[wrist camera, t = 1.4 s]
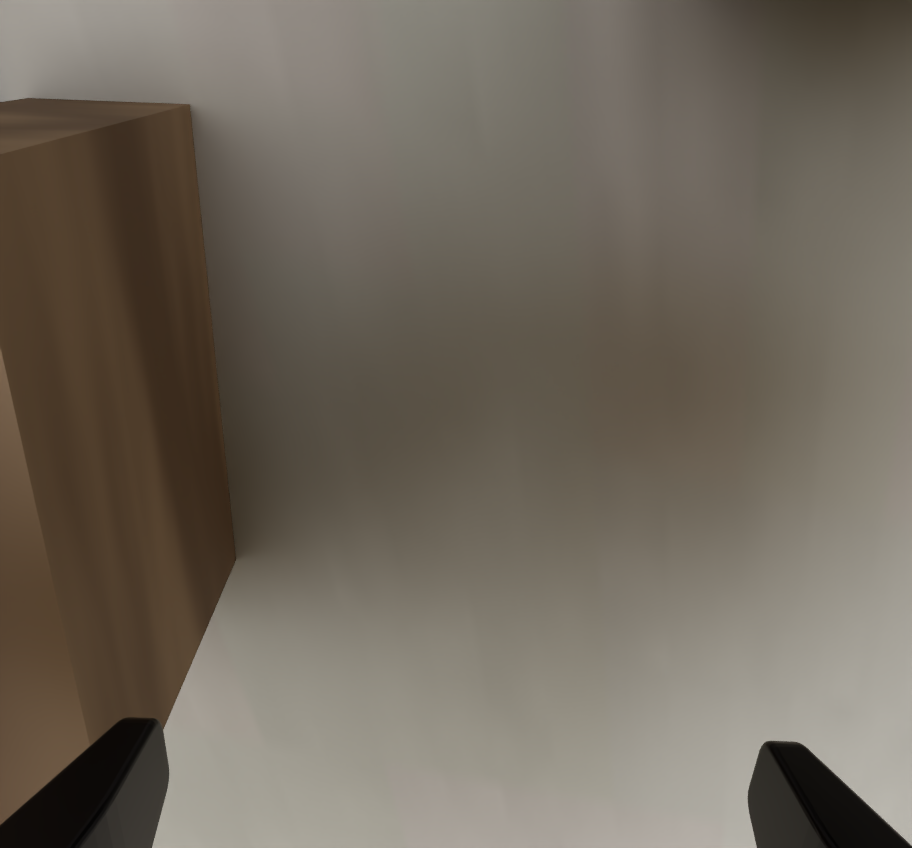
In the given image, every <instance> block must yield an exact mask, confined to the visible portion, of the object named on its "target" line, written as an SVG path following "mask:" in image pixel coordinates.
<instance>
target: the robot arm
mask: <svg viewBox="0 0 912 848" xmlns="http://www.w3.org/2000/svg"><path fill="white" fill-rule="evenodd" d="M168 781H169V765H168V759H167V752H166V746H165V740H164V733H163V728H162V725H161V723H160V721H159V720H158V719H155V718H140V717H126V718H123V719H121V720H119V721H118V722H117V723H115V724H114V725H113V726H112V727H111V728H110V729H109V730H107V731H106V732H105V733H104V734H103V735H102V736H101V737H100V738H98V739H97V740H96V741H95V742H94V743H93V744H92V745H90V746H89V747H88V748H87V749H86V750H85V751H84V752H82V753H81V754H80V755H79V756H78V757H77V758H76V759H75V760H73V761H72V762H71V763H70V764H69V765H68V766H67V767H65V768H64V769H63V770H62V771H61V772H60V773H59V774H57V775H56V776H55V777H54V778H53V779H52V780H51V781H50V782H48V783H47V784H46V785H45V786H44V787H43V788H42V789H40V790H39V791H38V792H37V793H36V794H35V795H34V796H32V797H31V798H30V799H29V800H28V801H27V802H26V803H25V804H23V805H22V806H21V807H20V808H19V809H18V810H17V811H15V812H14V813H13V814H12V815H11V816H10V817H9V818H7V819H6V820H5V821H4V822H3V823H2V824H1V825H0V848H152V845H153V841H154V838H155V834H156V830H157V826H158V822H159V819H160V815H161V811H162V807H163V803H164V800H165V796H166V792H167V788H168ZM748 808H749V814H750V818H751V823H752V827H753V832H754V836H755V841H756V845H757V848H912V846H911V845H910V844H909V843H908V842H907V841H906V840H905V839H904V838H903V837H902V836H901V835H900V834H898V833H897V832H896V831H895V830H894V829H893V828H892V827H891V826H890V825H889V824H888V823H887V822H886V821H885V820H884V819H882V818H881V817H880V816H879V815H878V814H877V813H876V812H875V811H874V810H873V809H872V808H871V807H870V806H869V805H867V804H866V803H865V802H864V801H863V800H862V799H861V798H860V797H859V796H858V795H857V794H856V793H855V792H854V791H853V790H851V789H850V788H849V787H848V786H847V785H846V784H845V783H844V782H843V781H842V780H841V779H840V778H839V777H838V776H836V775H835V774H834V773H833V772H832V771H831V770H830V769H829V768H828V767H827V766H826V765H825V764H824V763H823V762H822V761H820V760H819V759H818V758H817V757H816V756H815V755H814V754H813V753H812V752H811V751H810V750H809V749H808V748H806V747H805V746H804V745H802V744H800V743H798V742H787V741H767V742H765V743H764V744H763V745H762V746H761V749H760V751H759V755H758V758H757V762H756V765H755V768H754V772H753V775H752V779H751V782H750V786H749V790H748Z"/></svg>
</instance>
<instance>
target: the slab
mask: <svg viewBox="0 0 912 848" xmlns="http://www.w3.org/2000/svg"><path fill="white" fill-rule="evenodd" d="M235 561H236V556H235V546H234V536H233V526H232V516H231V506H230V496H229V487H228V477H227V467H226V457H225V447H224V437H223V427H222V418H221V408H220V398H219V388H218V378H217V368H216V358H215V349H214V339H213V329H212V319H211V309H210V299H209V289H208V280H207V270H206V260H205V250H204V240H203V230H202V220H201V211H200V201H199V191H198V181H197V171H196V161H195V151H194V142H193V132H192V122H191V112H190V104H166V103H140V102H114V101H88V100H62V99H36V98H26V99H19V100H13V101H6V102H0V825H1V824H2V823H3V822H4V821H5V820H6V819H7V818H9V817H10V816H11V815H12V814H13V813H14V812H15V811H17V810H18V809H19V808H20V807H21V806H22V805H23V804H25V803H26V802H27V801H28V800H29V799H30V798H31V797H32V796H34V795H35V794H36V793H37V792H38V791H39V790H40V789H42V788H43V787H44V786H45V785H46V784H47V783H48V782H50V781H51V780H52V779H53V778H54V777H55V776H56V775H57V774H59V773H60V772H61V771H62V770H63V769H64V768H65V767H67V766H68V765H69V764H70V763H71V762H72V761H73V760H75V759H76V758H77V757H78V756H79V755H80V754H81V753H82V752H84V751H85V750H86V749H87V748H88V747H89V746H90V745H92V744H93V743H94V742H95V741H96V740H97V739H98V738H100V737H101V736H102V735H103V734H104V733H105V732H106V731H107V730H109V729H110V728H111V727H112V726H113V725H114V724H115V723H117V722H118V721H119V720H121V719H123V718H126V717H140V718H155V719H158V720H159V721H160V723H161V725H162V728H163V729H164V727H165V724H166V722H167V720H168V717H169V715H170V713H171V710H172V708H173V706H174V703H175V701H176V699H177V696H178V694H179V692H180V689H181V687H182V685H183V682H184V680H185V678H186V675H187V673H188V671H189V668H190V666H191V664H192V661H193V659H194V657H195V654H196V652H197V650H198V647H199V645H200V642H201V640H202V638H203V635H204V633H205V631H206V628H207V626H208V624H209V621H210V619H211V617H212V614H213V612H214V610H215V607H216V605H217V603H218V600H219V598H220V596H221V593H222V591H223V589H224V586H225V584H226V582H227V579H228V577H229V575H230V572H231V570H232V568H233V565H234V563H235Z"/></svg>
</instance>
